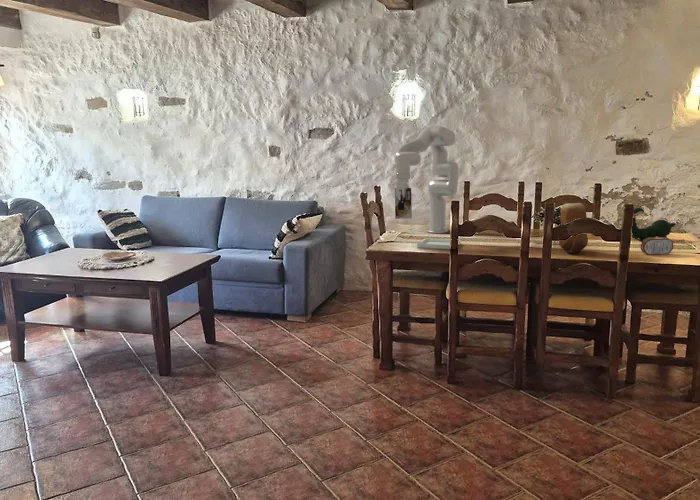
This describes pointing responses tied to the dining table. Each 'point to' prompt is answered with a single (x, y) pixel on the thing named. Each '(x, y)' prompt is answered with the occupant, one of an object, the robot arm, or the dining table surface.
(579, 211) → the butternut squash
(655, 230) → the toy figurine
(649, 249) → the tin
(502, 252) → the dining table surface
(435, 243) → the tray
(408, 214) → the coffee box
